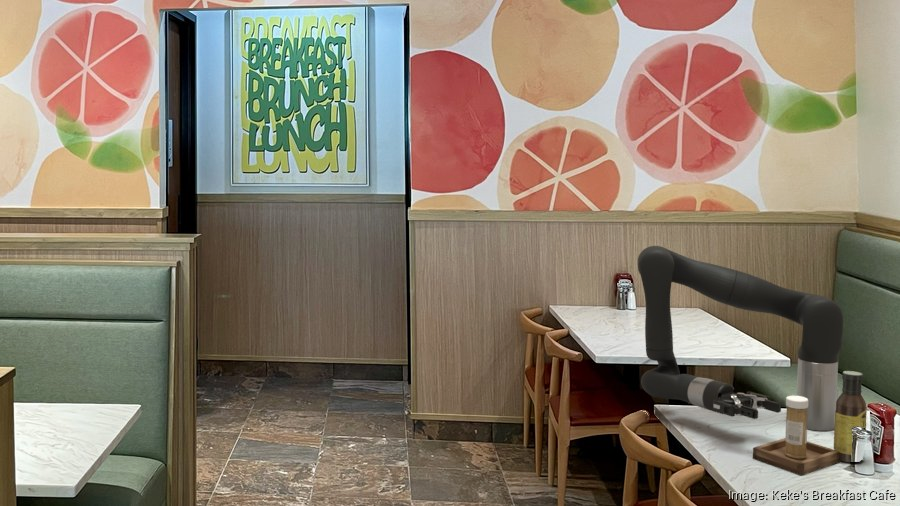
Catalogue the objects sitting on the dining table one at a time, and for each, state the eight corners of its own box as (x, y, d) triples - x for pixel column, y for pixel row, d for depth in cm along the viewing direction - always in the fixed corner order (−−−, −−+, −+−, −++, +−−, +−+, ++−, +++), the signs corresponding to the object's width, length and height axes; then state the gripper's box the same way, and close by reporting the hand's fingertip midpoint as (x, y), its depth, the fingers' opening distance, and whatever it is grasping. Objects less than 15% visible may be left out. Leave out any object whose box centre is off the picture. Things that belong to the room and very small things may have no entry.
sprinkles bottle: (810, 456, 173) (812, 398, 171) (798, 461, 170) (800, 401, 169) (792, 450, 176) (793, 393, 175) (780, 455, 174) (781, 397, 172)
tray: (790, 446, 182) (791, 436, 182) (839, 462, 172) (839, 451, 172) (752, 458, 175) (753, 447, 174) (801, 475, 165) (801, 464, 164)
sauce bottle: (866, 465, 170) (871, 377, 168) (835, 462, 172) (840, 375, 170) (860, 455, 176) (865, 370, 174) (830, 452, 178) (834, 368, 176)
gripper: (692, 384, 188) (750, 400, 174) (730, 376, 196) (788, 390, 182) (691, 414, 189) (748, 432, 175) (729, 404, 196) (786, 421, 183)
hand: (768, 411), depth 179 cm, fingers open, 8 cm apart
